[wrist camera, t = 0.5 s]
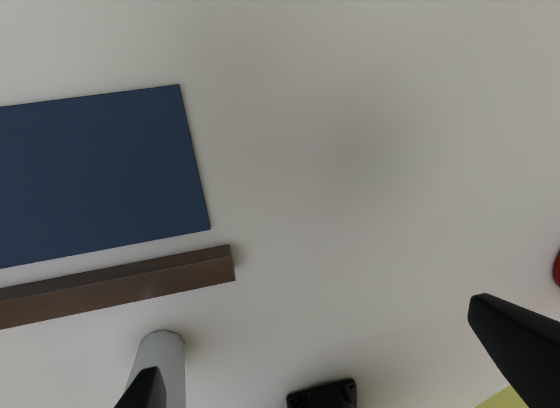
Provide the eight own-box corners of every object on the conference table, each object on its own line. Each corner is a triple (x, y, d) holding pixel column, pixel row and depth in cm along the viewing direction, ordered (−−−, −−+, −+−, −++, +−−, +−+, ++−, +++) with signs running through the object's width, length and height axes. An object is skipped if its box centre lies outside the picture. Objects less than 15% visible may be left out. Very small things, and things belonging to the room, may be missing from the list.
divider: (234, 268, 24) (235, 280, 22) (4, 315, 22) (-10, 332, 20) (229, 244, 23) (230, 256, 22) (-11, 290, 21) (-26, 306, 20)
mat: (210, 227, 22) (210, 229, 22) (-5, 267, 20) (-7, 270, 20) (178, 84, 18) (178, 84, 18) (-88, 118, 17) (-93, 119, 16)
